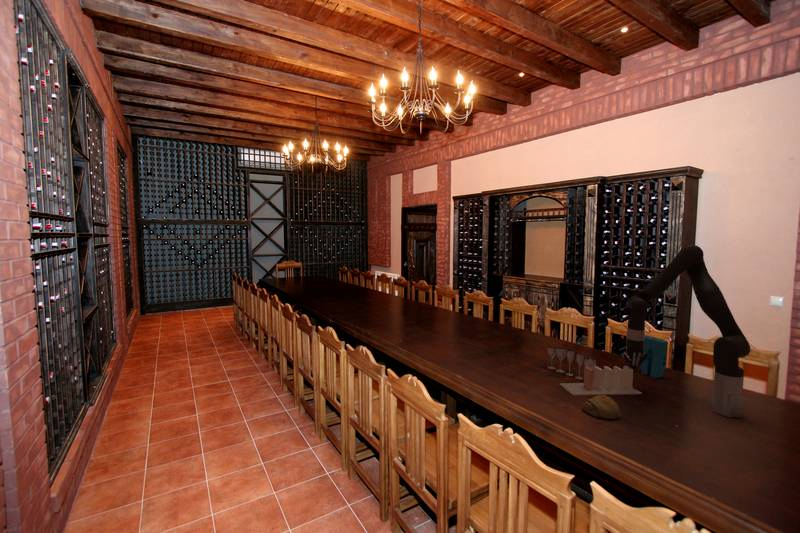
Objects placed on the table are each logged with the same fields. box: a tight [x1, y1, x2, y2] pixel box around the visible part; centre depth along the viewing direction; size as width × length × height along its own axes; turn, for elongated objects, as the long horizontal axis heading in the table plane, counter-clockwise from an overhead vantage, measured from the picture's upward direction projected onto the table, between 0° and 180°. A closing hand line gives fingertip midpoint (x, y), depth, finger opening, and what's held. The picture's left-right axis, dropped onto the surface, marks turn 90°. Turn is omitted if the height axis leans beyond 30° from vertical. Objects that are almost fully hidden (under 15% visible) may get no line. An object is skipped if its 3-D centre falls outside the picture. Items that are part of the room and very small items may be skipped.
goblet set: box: [547, 345, 597, 380], centre depth 202 cm, size 28×6×13 cm, turn 30°
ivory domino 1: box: [593, 366, 604, 390], centre depth 183 cm, size 5×2×10 cm, turn 4°
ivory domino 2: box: [603, 365, 614, 390], centre depth 184 cm, size 5×2×10 cm, turn 4°
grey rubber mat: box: [559, 382, 643, 397], centre depth 184 cm, size 13×34×1 cm, turn 94°
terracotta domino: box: [583, 366, 594, 391], centre depth 183 cm, size 5×2×10 cm, turn 4°
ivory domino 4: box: [622, 365, 634, 390], centre depth 184 cm, size 5×2×10 cm, turn 4°
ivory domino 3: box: [612, 365, 623, 390], centre depth 184 cm, size 5×2×10 cm, turn 4°
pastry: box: [582, 394, 622, 420], centre depth 159 cm, size 14×12×8 cm
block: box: [639, 335, 669, 379], centre depth 202 cm, size 12×5×20 cm, turn 21°
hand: (632, 372), depth 185 cm, fingers closed
